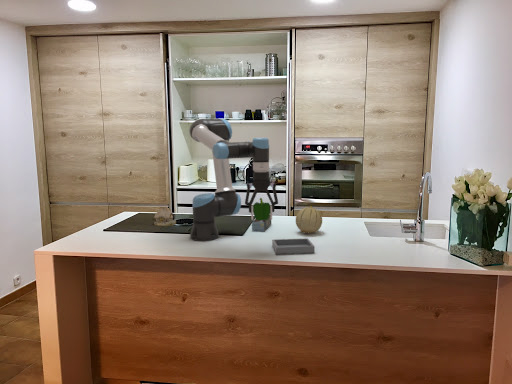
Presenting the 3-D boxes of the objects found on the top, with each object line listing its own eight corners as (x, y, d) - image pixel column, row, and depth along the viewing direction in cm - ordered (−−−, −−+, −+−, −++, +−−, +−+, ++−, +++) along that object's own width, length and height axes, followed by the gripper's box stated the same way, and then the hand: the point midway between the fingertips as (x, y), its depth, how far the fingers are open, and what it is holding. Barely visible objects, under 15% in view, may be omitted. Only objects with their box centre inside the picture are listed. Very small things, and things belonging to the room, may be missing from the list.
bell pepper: (268, 221, 189) (268, 200, 188) (251, 221, 191) (251, 200, 189) (272, 217, 197) (271, 197, 196) (255, 217, 199) (254, 197, 197)
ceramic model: (150, 225, 251) (149, 209, 249) (159, 221, 262) (158, 206, 260) (170, 226, 247) (170, 210, 245) (179, 222, 258) (179, 207, 256)
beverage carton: (251, 231, 234) (251, 220, 233) (259, 224, 253) (259, 213, 252) (264, 232, 232) (264, 221, 231) (271, 224, 251) (271, 214, 250)
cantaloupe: (295, 236, 224) (295, 209, 221) (296, 229, 238) (296, 204, 236) (322, 236, 222) (322, 209, 219) (321, 230, 236) (322, 204, 234)
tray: (276, 254, 191) (276, 247, 190) (272, 246, 204) (272, 239, 204) (314, 253, 192) (314, 246, 192) (307, 245, 206) (307, 238, 206)
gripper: (238, 172, 186) (239, 221, 189) (284, 171, 188) (284, 220, 191) (238, 171, 194) (239, 218, 197) (282, 170, 195) (282, 216, 198)
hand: (261, 219), depth 194 cm, fingers closed on bell pepper, 8 cm apart
